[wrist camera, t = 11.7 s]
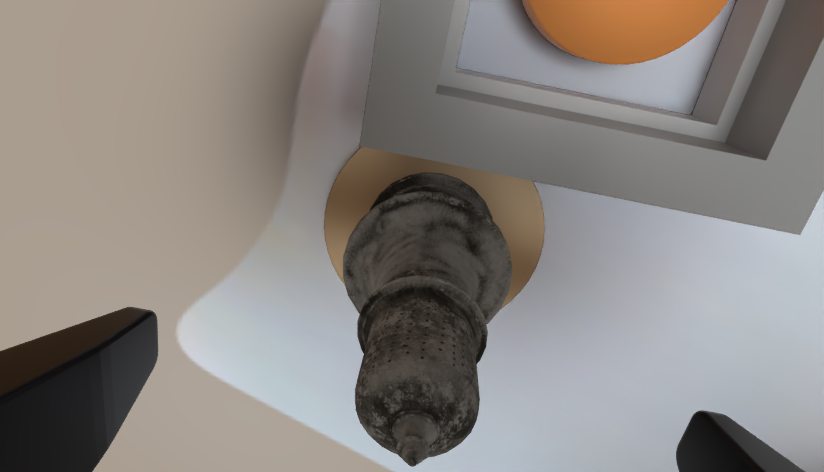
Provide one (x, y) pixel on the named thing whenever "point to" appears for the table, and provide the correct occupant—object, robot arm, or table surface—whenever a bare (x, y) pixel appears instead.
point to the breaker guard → (618, 117)
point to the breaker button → (621, 26)
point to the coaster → (503, 194)
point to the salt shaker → (424, 310)
